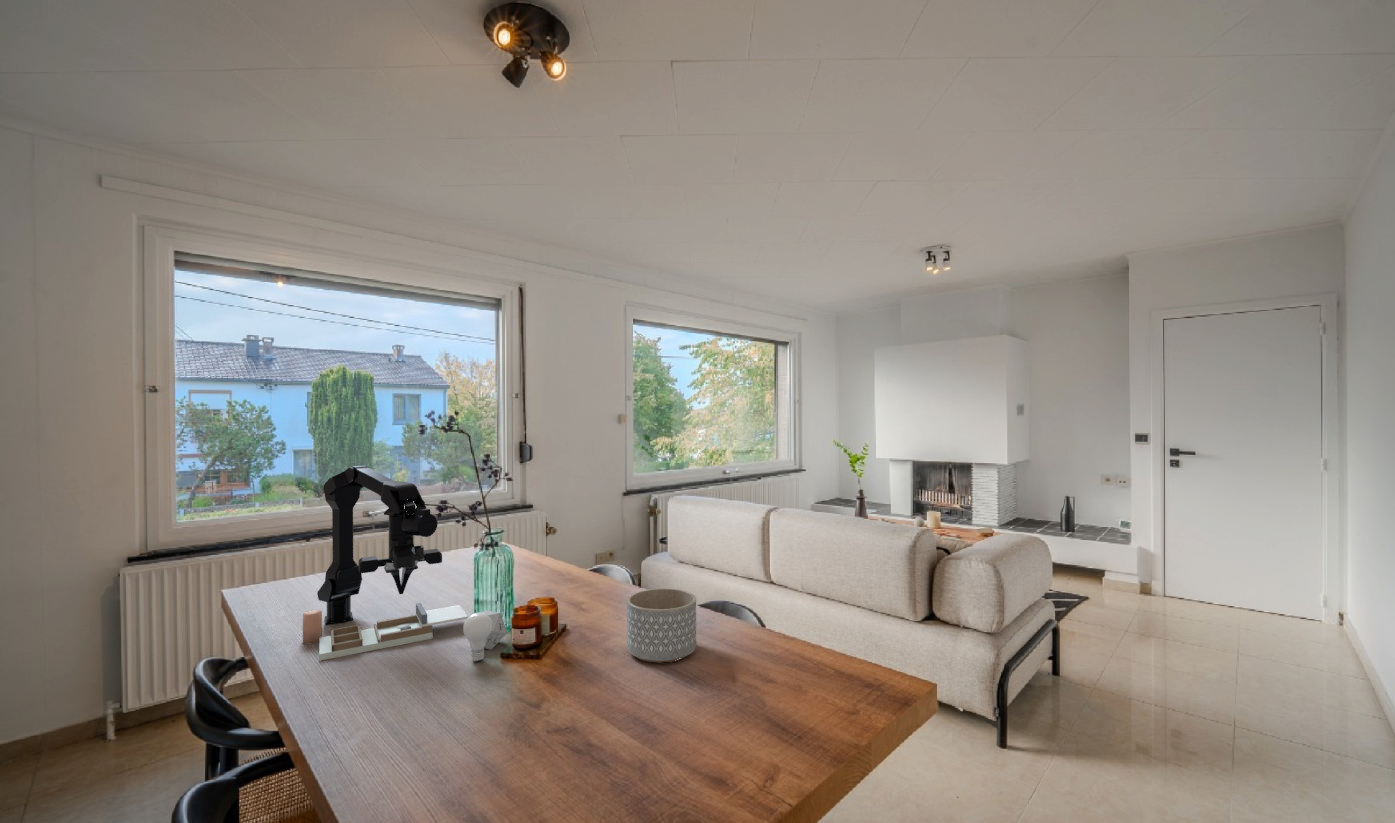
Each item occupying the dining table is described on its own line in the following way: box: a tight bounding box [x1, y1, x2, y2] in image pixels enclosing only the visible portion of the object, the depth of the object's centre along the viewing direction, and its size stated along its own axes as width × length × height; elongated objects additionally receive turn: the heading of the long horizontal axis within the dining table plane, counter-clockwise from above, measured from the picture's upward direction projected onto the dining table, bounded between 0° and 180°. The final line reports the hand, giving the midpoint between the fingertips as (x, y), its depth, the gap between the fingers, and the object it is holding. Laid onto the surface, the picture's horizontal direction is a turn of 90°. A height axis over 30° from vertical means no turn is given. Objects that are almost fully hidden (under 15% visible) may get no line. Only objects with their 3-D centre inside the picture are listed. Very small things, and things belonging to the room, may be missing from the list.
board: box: [318, 614, 434, 662], centre depth 144 cm, size 12×24×3 cm, turn 123°
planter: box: [626, 588, 697, 663], centre depth 137 cm, size 16×16×13 cm
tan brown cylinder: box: [302, 609, 323, 645], centre depth 144 cm, size 4×4×7 cm
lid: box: [415, 602, 469, 627], centre depth 152 cm, size 11×11×3 cm
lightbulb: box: [462, 611, 493, 663], centre depth 132 cm, size 6×6×11 cm
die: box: [481, 609, 509, 651], centre depth 141 cm, size 8×9×10 cm
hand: (401, 593), depth 147 cm, fingers closed
